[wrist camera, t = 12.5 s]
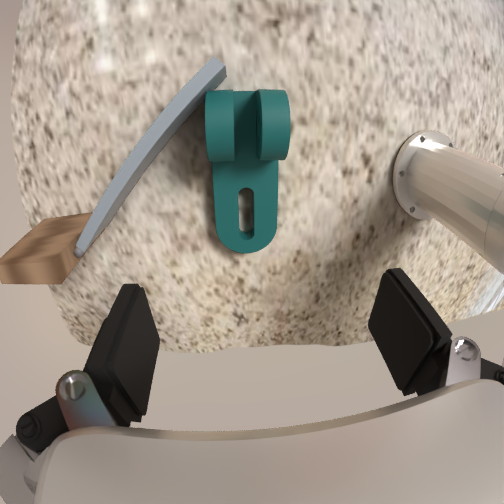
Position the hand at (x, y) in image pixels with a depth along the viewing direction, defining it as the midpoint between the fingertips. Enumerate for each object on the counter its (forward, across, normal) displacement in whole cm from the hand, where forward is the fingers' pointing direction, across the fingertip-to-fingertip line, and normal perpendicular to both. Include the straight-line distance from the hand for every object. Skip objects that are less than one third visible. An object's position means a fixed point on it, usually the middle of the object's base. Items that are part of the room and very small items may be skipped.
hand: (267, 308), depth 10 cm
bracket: (+23, 0, 0) cm, 23 cm away
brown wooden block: (+22, +23, +4) cm, 32 cm away
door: (+22, +10, -3) cm, 24 cm away
